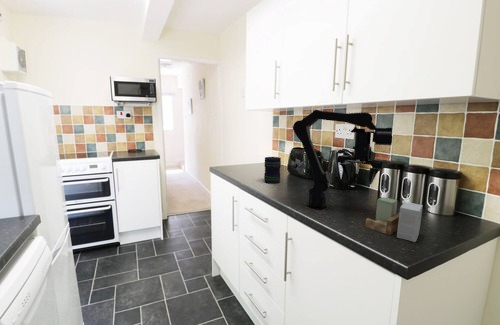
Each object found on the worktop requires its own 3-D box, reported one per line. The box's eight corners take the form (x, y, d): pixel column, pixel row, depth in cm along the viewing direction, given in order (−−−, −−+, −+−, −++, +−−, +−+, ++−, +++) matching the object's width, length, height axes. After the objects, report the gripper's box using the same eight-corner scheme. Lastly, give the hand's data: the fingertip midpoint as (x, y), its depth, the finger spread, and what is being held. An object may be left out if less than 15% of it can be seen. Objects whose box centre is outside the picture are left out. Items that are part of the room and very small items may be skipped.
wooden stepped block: (365, 227, 94) (366, 214, 93) (380, 218, 102) (381, 206, 101) (390, 235, 87) (391, 221, 86) (403, 225, 95) (405, 212, 95)
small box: (400, 229, 92) (403, 201, 90) (419, 234, 88) (423, 204, 87) (396, 237, 86) (399, 207, 84) (415, 242, 82) (419, 211, 81)
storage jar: (260, 181, 159) (261, 157, 157) (271, 179, 166) (272, 156, 163) (272, 184, 152) (273, 159, 150) (283, 182, 159) (284, 158, 156)
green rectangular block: (374, 225, 95) (377, 199, 93) (380, 222, 98) (382, 197, 96) (389, 230, 91) (392, 202, 90) (394, 227, 94) (397, 200, 93)
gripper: (395, 144, 102) (391, 183, 105) (350, 141, 116) (347, 175, 119) (383, 146, 95) (379, 188, 98) (337, 142, 109) (334, 179, 111)
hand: (359, 182), depth 106 cm, fingers open, 9 cm apart
